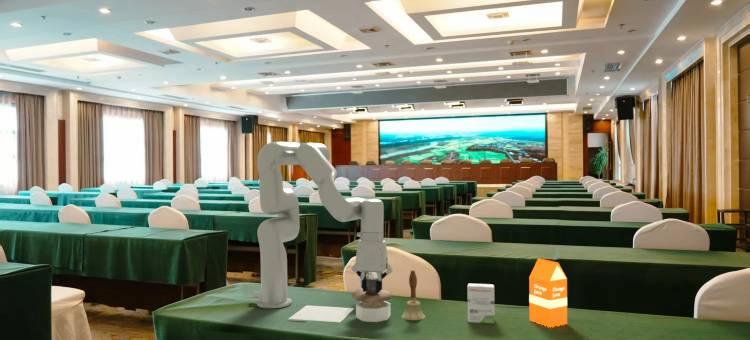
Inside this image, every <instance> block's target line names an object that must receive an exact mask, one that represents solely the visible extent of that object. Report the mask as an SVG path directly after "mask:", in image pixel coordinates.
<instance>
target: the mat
mask: <svg viewBox="0 0 750 340" xmlns="http://www.w3.org/2000/svg"><path fill="white" fill-rule="evenodd" d="M353 310H355V307H354V308H353V307H339V306H325V305H324V306H323V305H322V306H321V305H307V304H306V305H305V306H304V307H302V308H301V309H300V310H298V311H297V312H295V313H294V314H293V315H291V316H290V317H289V318H288V320H287V321H289V322H290V321H293V322H303V323H304V322H305V323H306V322H308V321H313V322H314V321H315V322H316V321H317V322H328V323H329V322H330V323H341V322H342V321H344V319H345V318H347V316H348V315H349V314H350V313H351V312H352V311H353Z"/></svg>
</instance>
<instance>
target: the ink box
mask: <svg viewBox="0 0 750 340" xmlns="http://www.w3.org/2000/svg"><path fill="white" fill-rule="evenodd" d="M466 289H467V293H466V294H467V299H466V300H467V322H468V323H476V324H478V323H479V324H495V323H496V322H495V319H496V318H495V317H496V315H495V313H496V312H495V311H496V310H495V308H496V306H495V285H494V284H490V283H470V282H469V283H468V284H467V288H466Z"/></svg>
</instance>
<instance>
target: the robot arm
mask: <svg viewBox="0 0 750 340" xmlns="http://www.w3.org/2000/svg"><path fill="white" fill-rule="evenodd" d="M330 153H331V151H330V150H329V148H328V147H327V146H326V145H325V144H323V143H319V142H293V141H292V142H291V141H290V142H289V141H272V142H269V143H266V144H265V145H263V146H262V147H261V149H260V150H259V152H258V154H257V157H256V166H257V171H258V172H257V173H258V185H259V202H260V203H259V204H260V209H261V211H262V213H263V214H265V215H269V216H270V215H271V216H274V215H277V217H271V218H268V219H266V220H264V221H262V222H261V223H260V224H259V226H258V228H257V234H256V235H257V241H258V244H259V251H260V291H252V293H251V298H252V299H258V300H257V301H256V306H257V307H259V308H262V309H281V308H285V307H288V306H290V305H292V303H293V300H292V298H290V297H289V296H288V258H287V254H288V253H287V251H286V248H285V245H284V243H287V242H290V241H291V242H292V241H293V240H294V239H296V238H297V237H298V235H299V232H300V227H301V226H300V207H299V206H300V205H299V199H298V196H297V194H296V192H295V191H294V190H293V189H292V188H288V187H284V184H283V183H284V182H283V175H282V172H281V169H280V168H279V166H300V167H301V168H302V169H303V170H304V171H305V172H306V174H307V175H308V177H309V178H310V179H311V180H312V181H313V182H314V184H315V186H317V192H318V196H319V199H320V201H321V203H322V205H323V206H324V208H325V209H326V210H327V211H328V213H329V214H330V215H331V216H332V217H333V218H334V219H335V220H336V221H338V222H341V223H345V222H350V221H356V220H360V231H359V232H357V233H356V237H359V240H358V241H357V246H356V255H355V263H354V264H353V266H352V267H351V271H353V272H354V273H355V274H357V276H359V277H360V279H361V280H362V289H363V292H365V291H366V274H367V272H377V278H378V280H377V282H376V292H377V293H379V292H380V291H381V290H383V279H384V278H385V277H387V276H388V275H391V273H393V272H394V270H393V268H392V267H391V265H390V264H389V261H388V250H387V248H388V247H387V243H386V240H384V216H385V215H384V212H385V211H384V202H383V200H381V199H376V198H373V199H372V198H371V199H366V198H361V197H350V198H349V197H347V198H345V197H344V196H343V195H342V193H340V191H339V190H338V189H337V187H336V184H335V180H336V179H337V176H338V171H337V170H336V168H335V167H334V166H333V165H332V164H331V163H330V160H331V159H330V158H331V154H330ZM361 271H362V272H361Z"/></svg>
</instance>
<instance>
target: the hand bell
mask: <svg viewBox="0 0 750 340" xmlns="http://www.w3.org/2000/svg"><path fill="white" fill-rule="evenodd" d="M408 283H409V287H410V300H408V301H407V302H406V306H405V307H406V308H405V310H404V312H403V314H402V315H401V318H402V319H404V320H408V321H420V320H424V319H425V318H426V315H425V314H424V313H423V311H422V307H421V302H420V301H418V300H417V295H416V294H417V293H416V291H417V290H416V289H417V285H418V278H417V274H416V271H415V270H410V274H409V278H408Z"/></svg>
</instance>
